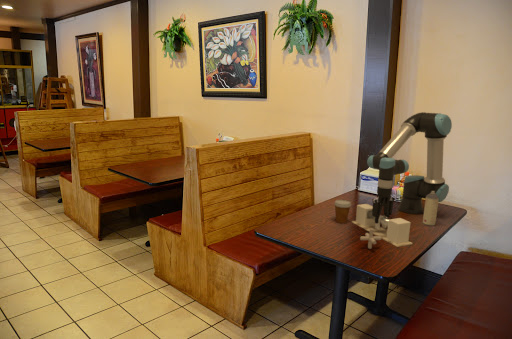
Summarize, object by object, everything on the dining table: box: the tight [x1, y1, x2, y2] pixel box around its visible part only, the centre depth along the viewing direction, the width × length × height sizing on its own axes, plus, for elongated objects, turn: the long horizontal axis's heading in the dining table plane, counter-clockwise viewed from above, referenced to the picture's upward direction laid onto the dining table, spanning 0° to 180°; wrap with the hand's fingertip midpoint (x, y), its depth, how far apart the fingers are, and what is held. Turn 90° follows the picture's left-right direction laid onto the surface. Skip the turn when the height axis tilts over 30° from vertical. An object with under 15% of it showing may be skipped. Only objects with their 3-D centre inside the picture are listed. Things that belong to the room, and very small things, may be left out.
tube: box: [367, 211, 390, 228], centre depth 203 cm, size 24×4×4 cm, turn 23°
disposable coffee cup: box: [334, 199, 352, 224], centre depth 219 cm, size 10×10×12 cm
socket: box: [386, 217, 412, 244], centre depth 192 cm, size 7×8×11 cm
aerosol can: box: [422, 191, 439, 227], centre depth 218 cm, size 7×7×20 cm
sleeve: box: [355, 203, 375, 227], centre depth 215 cm, size 8×7×11 cm
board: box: [350, 220, 413, 248], centre depth 205 cm, size 37×10×1 cm, turn 23°
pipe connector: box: [359, 228, 382, 250], centre depth 184 cm, size 10×10×10 cm
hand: (380, 228), depth 204 cm, fingers closed on tube, 4 cm apart
